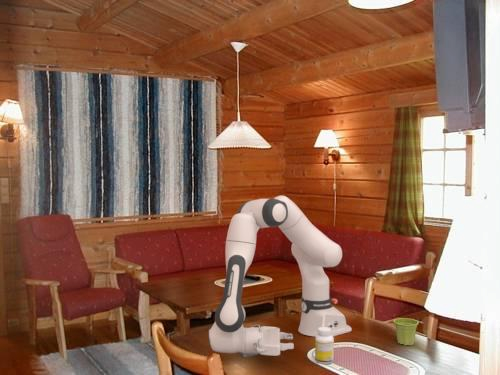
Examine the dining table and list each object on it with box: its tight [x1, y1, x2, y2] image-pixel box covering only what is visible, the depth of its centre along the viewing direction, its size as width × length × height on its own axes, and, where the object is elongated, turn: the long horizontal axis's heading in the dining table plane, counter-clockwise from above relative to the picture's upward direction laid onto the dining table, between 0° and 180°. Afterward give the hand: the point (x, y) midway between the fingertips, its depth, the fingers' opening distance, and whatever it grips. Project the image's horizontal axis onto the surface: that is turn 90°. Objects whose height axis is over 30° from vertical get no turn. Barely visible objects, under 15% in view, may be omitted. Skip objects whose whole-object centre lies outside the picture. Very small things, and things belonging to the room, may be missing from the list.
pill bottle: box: [314, 327, 335, 365], centre depth 191 cm, size 6×6×12 cm
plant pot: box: [393, 317, 419, 346], centre depth 210 cm, size 9×9×9 cm
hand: (293, 341), depth 192 cm, fingers open, 8 cm apart
